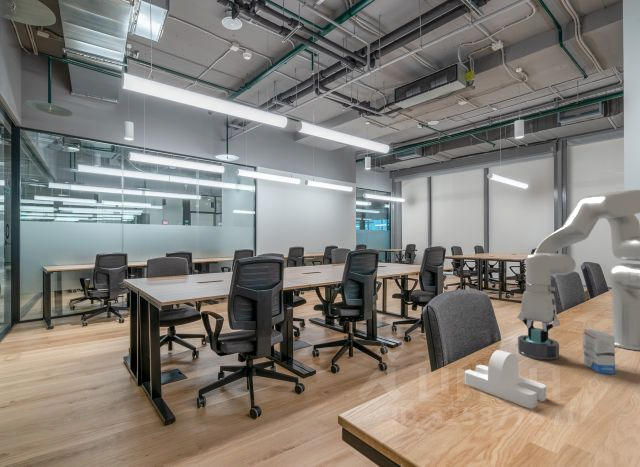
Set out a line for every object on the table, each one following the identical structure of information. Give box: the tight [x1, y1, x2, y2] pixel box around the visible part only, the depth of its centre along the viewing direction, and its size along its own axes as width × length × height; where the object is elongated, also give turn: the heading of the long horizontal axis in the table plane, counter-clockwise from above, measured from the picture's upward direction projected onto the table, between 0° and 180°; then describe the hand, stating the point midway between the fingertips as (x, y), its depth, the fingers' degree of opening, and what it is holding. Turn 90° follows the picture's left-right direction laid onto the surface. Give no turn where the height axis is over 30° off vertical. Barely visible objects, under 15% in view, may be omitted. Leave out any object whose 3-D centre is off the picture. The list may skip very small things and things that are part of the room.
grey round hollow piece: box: [517, 334, 560, 362], centre depth 122 cm, size 12×12×5 cm
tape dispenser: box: [464, 349, 547, 409], centre depth 94 cm, size 10×18×11 cm, turn 36°
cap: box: [526, 327, 551, 344], centre depth 122 cm, size 8×8×7 cm
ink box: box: [582, 328, 616, 375], centre depth 109 cm, size 9×5×12 cm, turn 168°
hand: (538, 339), depth 122 cm, fingers open, 3 cm apart
